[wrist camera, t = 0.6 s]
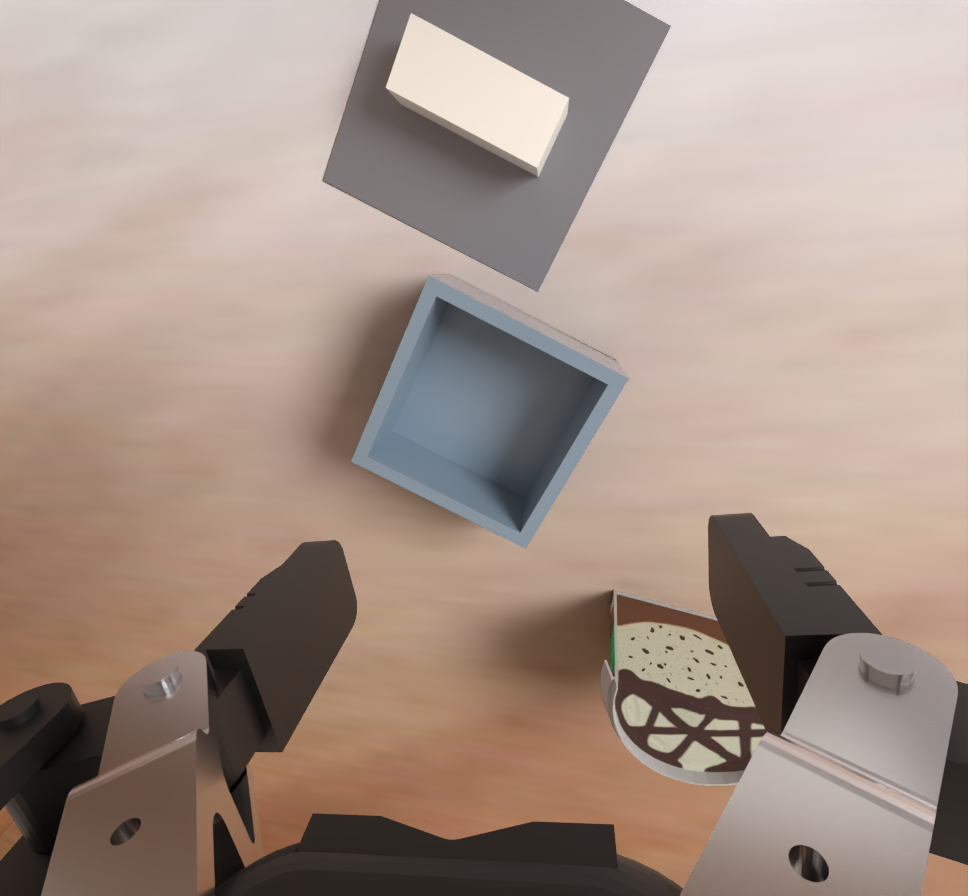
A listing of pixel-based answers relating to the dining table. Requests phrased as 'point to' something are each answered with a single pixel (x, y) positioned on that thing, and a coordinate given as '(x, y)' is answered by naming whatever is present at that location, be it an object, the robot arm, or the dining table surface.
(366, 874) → the robot arm
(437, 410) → the dish
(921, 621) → the dining table surface
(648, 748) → the food container
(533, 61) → the lid
